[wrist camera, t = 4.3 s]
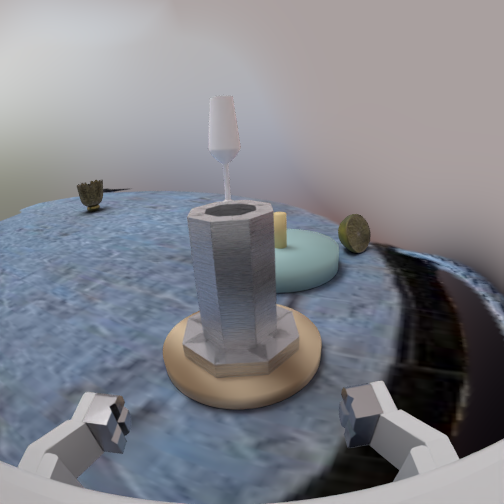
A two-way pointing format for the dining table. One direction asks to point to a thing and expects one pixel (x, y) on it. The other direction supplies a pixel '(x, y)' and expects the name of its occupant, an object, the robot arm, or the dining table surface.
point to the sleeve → (236, 292)
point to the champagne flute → (223, 135)
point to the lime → (354, 233)
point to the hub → (302, 257)
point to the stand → (249, 387)
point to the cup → (91, 194)
